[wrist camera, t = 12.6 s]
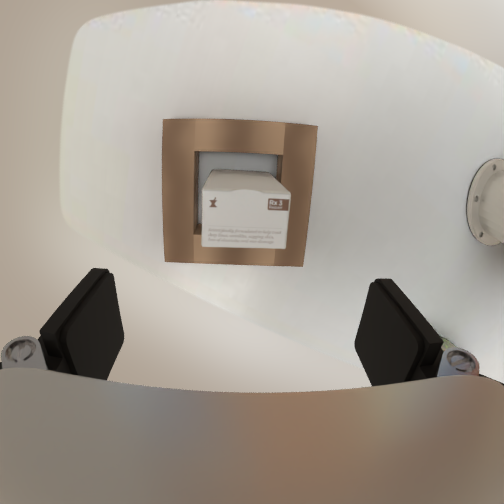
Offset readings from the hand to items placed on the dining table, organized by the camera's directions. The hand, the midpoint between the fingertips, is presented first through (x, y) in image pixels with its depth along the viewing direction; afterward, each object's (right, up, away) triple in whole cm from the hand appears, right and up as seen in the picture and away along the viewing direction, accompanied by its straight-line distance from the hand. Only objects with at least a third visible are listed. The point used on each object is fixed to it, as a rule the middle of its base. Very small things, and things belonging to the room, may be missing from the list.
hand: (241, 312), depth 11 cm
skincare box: (-1, +9, +21) cm, 23 cm away
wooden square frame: (-1, +9, +21) cm, 23 cm away
